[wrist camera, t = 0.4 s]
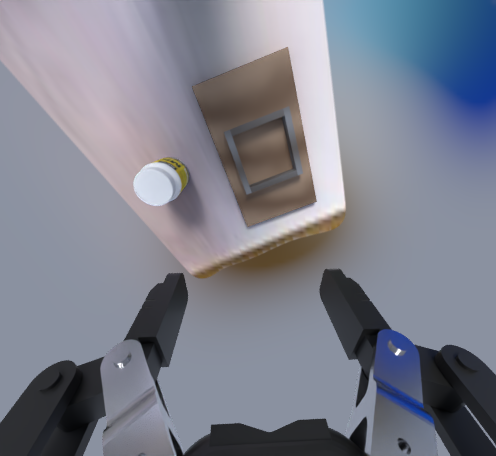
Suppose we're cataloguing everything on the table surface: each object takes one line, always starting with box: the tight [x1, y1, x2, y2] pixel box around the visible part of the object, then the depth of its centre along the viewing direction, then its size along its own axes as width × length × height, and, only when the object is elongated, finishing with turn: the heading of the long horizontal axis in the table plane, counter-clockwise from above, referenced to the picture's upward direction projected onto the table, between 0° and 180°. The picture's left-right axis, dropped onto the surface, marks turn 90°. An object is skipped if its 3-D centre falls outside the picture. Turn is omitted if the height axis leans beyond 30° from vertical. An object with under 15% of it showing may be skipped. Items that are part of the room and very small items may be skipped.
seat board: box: [192, 47, 317, 227], centre depth 26 cm, size 20×12×2 cm, turn 19°
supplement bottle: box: [133, 157, 189, 206], centre depth 24 cm, size 5×5×8 cm
